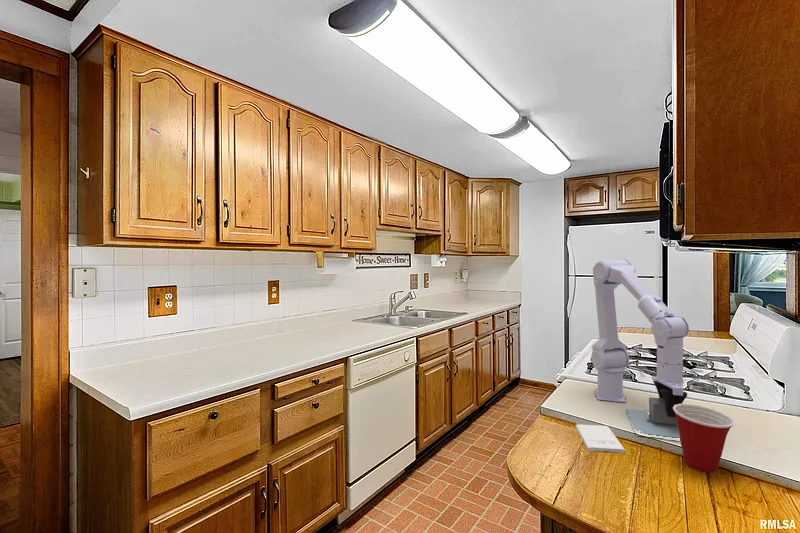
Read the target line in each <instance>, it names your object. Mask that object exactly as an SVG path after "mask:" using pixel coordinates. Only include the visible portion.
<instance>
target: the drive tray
mask: <svg viewBox="0 0 800 533" xmlns="http://www.w3.org/2000/svg"><path fill="white" fill-rule="evenodd" d="M626 411H627V413H628V415H629V418H630V420H631V422H632V424H633V426H634V429H636V431H639V430H640V431H641V432H640V433H644V434H648V435H656V436H663V437H670V438H671V437H672V438H680V435H679V429H678V424H669V423H658V422H653V420H652V419H651V413H650V412H649V410H646V409H637V408H636V409H634V408H627V407H626V409H625V412H626ZM627 413H626V414H627ZM628 415H627V416H628ZM629 418H628V419H629ZM630 420H629V421H630Z"/></svg>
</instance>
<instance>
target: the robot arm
mask: <svg viewBox="0 0 800 533" xmlns="http://www.w3.org/2000/svg"><path fill="white" fill-rule="evenodd" d="M592 276H593V286H594V291H595V300H596V301H595V303H596V312H597V324H598V335H599V337H598V340H597V341H595V342H594V343H593V344H592V346H591V347H592V348H591V349H592V351H591V352H592V353H591V355H590V358H591V359H590V360H591V363H592V365H593V367H594V368H595V370H597V388H594V391H595V397H596V399H597V400H599V401H609V402H616V403H617V402H618V403H627V400H626V397H625V394H624V383H623V382H624V381H623V380H624V378H623V377H624V376H623V375H624V373H623V372H624V371H626V368H627V367H628V366H629V364H630V355H629V353H628V351H627V347H626V346H627V345H626V344H625V343H624V342H623V341H621V340H620V339H619V331H618V321H617V311H616V300H615V290H616V288H617V287H618V286H620V285H623V286H624V287H625V288H626V290H627V291H629V293H630V294H631V295H632V296H633V297H634V298H635V299H636V300H637V301H638V303H637V308H638V309H639V310H640V311H641V313H642V314H643V315H644V316H645V318H646V319H647V320H648V322H650V324H651V326H650V330H651V332H652V334H653V337H654V343H655V344H656V376H655V375H654V376H651V380H652V381H653V384H654V386H655V388H656V390H657V394H658V398H664V401H665V406H666V412H667V415H668V417H676V414H675V412H674V410H673V407H674V405H677V404H682V403H683V402H684V401H685V400H686V399H687V397H688V393H687V392H686V391H684V385H685V384H684V383H685V382H684V381H685V380H684V372H683V371H684V338H686V337H687V336H688V334H689V331H690V328H689V324H688V322H687V321H686V319H685V317H683V316H682V315H677V314H676V313H675V312H672V311H671V310H670V308H669V307H667V305H666V304H665V303H664V302H663V299H662V298H661V297H660V296H658V295H656V294H650V292H649V291H648V290H647V288H646V287H645V285H644V283H643V282H642V281H641V280H640V278H639V277H638V276H637V274H636V267H635V266H634V265H633V263H632V262H631V261H630V260H629V259H619V260H618V259H617V260H601V259H600V260H598V261H597V262H596V263H595V264H594V265H593V267H592ZM683 404H684V403H683Z"/></svg>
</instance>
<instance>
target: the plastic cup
mask: <svg viewBox="0 0 800 533" xmlns="http://www.w3.org/2000/svg"><path fill="white" fill-rule="evenodd" d="M673 410H674V412H675V414H676V419H677V423H678V429H679V435H680V441H681V442H680V446H681V448H682V454H683V459H684V461H685V464H686V465H687V466H688V467H689V468H691V469H693V470H695V471H700V472H702V473H707V474H709V473H715V472H718V469H719V468H720V467H719V466H720V462H721V458H722V455H723V451H724V449H725V448H724V447H725V444H726V440H727V436H728V433H729V432H730V429H731V428H732V427H734V425H735V420H734V419H733V418H732V417H731V416H729V415H727V414H726V413H724V412H722V411H719V410H716V409H714V408H710V407H706V406H703V405H699V404H692V403H683V404H677V405H674V407H673Z"/></svg>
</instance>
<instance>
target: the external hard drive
mask: <svg viewBox="0 0 800 533" xmlns="http://www.w3.org/2000/svg"><path fill="white" fill-rule="evenodd" d="M575 429H576V431H577V432H578V434H579V437H580V438H581V440H582V442H583V444H584V446H585V447H586V449H587V451H588V452H600V453H601V452H602V453H604V452H607V453H608V452H609V453H613V454H614V453H615V454H626V449H625V448H624V447H623V445H622V443H621V442H620V440H618V438H617V436H616V435H615V434H614V432H613V431H612V430H611V429H610V427H609V426H607V425H596V424H578V423H576V424H575Z"/></svg>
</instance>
